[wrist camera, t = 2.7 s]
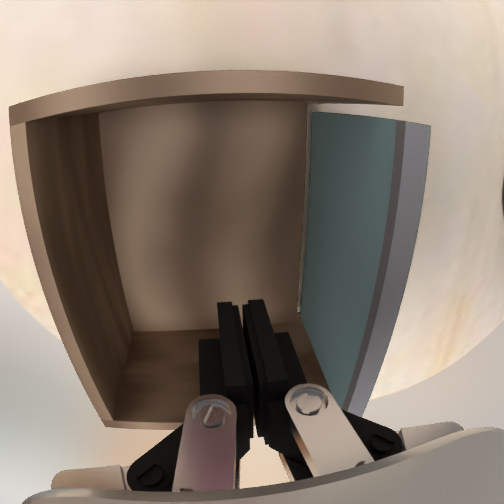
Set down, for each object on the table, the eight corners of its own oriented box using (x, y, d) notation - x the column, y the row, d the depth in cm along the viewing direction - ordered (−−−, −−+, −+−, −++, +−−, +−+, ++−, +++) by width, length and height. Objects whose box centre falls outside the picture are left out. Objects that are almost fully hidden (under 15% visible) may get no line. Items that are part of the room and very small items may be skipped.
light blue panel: (327, 112, 18) (430, 125, 9) (312, 314, 25) (360, 420, 15) (310, 111, 18) (405, 121, 9) (299, 315, 25) (342, 424, 15)
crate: (320, 92, 19) (403, 86, 10) (306, 319, 27) (345, 411, 18) (93, 103, 17) (8, 107, 8) (129, 330, 25) (105, 426, 16)
